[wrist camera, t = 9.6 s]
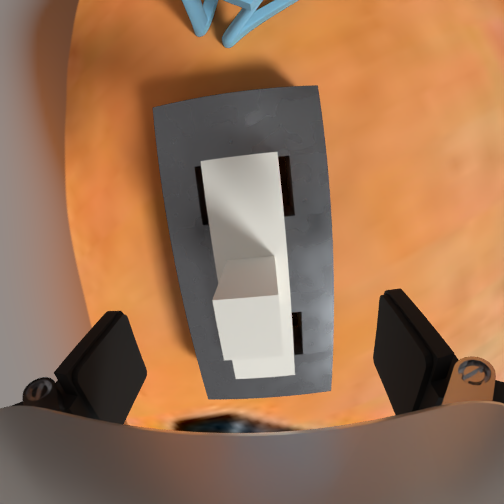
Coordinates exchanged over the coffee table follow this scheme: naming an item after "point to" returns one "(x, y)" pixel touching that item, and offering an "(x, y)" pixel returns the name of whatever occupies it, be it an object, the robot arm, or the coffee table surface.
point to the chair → (241, 23)
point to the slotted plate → (295, 217)
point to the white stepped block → (250, 264)
